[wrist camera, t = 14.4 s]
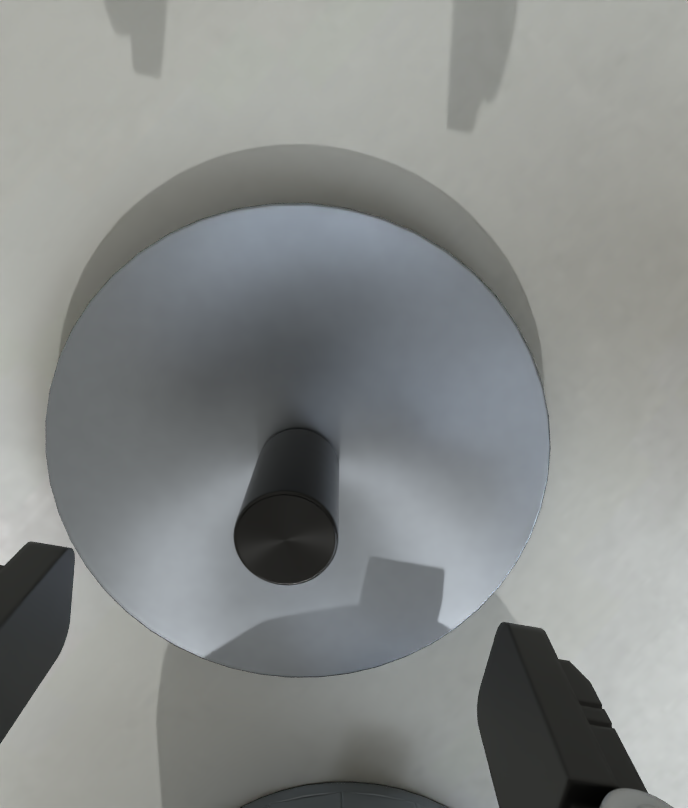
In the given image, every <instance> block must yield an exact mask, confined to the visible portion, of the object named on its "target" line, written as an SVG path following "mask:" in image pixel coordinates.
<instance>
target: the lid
mask: <svg viewBox="0 0 688 808" xmlns="http://www.w3.org/2000/svg"><path fill="white" fill-rule="evenodd" d="M46 458H47V465H48V472H49V479H50V485H51V488H52V492H53V495H54V499H55V502H56V505H57V509H58V512H59V515H60V517H61V520H62V522H63V524H64V526H65V529H66V531H67V533H68V535H69V538H70V540H71V542H72V544H73V545H74V547H75V549H76V550H77V552H78V554H79V555H80V557H81V559H82V560H83V562H84V564H85V565H86V567H87V568H88V569H89V571H90V572H91V573H92V575H93V576H94V577H95V578H96V580H97V581H98V582H99V583H100V585H101V586H102V587H103V589H104V590H105V591H106V592H107V593H108V594H109V595H110V596H111V597H112V598H113V599H114V600H115V601H116V602H117V603H118V604H119V605H120V606H121V607H122V608H123V609H124V610H125V611H126V612H127V613H129V614H130V615H131V616H132V617H134V618H135V619H136V620H137V621H139V622H140V623H141V624H143V625H144V626H145V627H146V628H148V629H149V630H150V631H152V632H154V633H155V634H157V635H158V636H160V637H162V638H163V639H165V640H167V641H168V642H170V643H172V644H173V645H175V646H177V647H179V648H181V649H183V650H185V651H187V652H190V653H192V654H194V655H196V656H198V657H200V658H203V659H205V660H208V661H211V662H214V663H217V664H220V665H223V666H226V667H229V668H233V669H238V670H242V671H247V672H252V673H256V674H262V675H271V676H281V677H325V676H333V675H341V674H349V673H354V672H358V671H362V670H366V669H371V668H375V667H379V666H381V665H384V664H387V663H390V662H393V661H395V660H398V659H401V658H404V657H406V656H408V655H410V654H412V653H414V652H416V651H418V650H420V649H422V648H424V647H426V646H428V645H430V644H432V643H434V642H435V641H437V640H438V639H440V638H441V637H443V636H445V635H446V634H448V633H449V632H451V631H452V630H454V629H455V628H457V627H458V626H459V625H460V624H461V623H463V622H464V621H465V620H466V619H467V618H469V617H470V616H471V615H472V614H473V613H475V612H476V611H477V610H478V609H479V608H480V607H481V606H482V605H483V604H484V603H485V602H486V601H487V600H488V599H489V597H490V596H491V595H492V594H493V593H494V592H495V591H496V590H497V589H498V588H499V587H500V585H501V584H502V582H503V581H504V580H505V578H506V577H507V575H508V574H509V573H510V571H511V570H512V568H513V567H514V566H515V564H516V563H517V561H518V559H519V557H520V555H521V553H522V552H523V550H524V548H525V546H526V544H527V542H528V540H529V539H530V536H531V534H532V531H533V529H534V526H535V523H536V521H537V518H538V515H539V513H540V510H541V506H542V502H543V498H544V493H545V489H546V484H547V480H548V471H549V459H550V430H549V415H548V410H547V405H546V400H545V395H544V390H543V385H542V382H541V379H540V376H539V374H538V371H537V368H536V365H535V362H534V359H533V356H532V354H531V352H530V350H529V348H528V346H527V344H526V342H525V340H524V338H523V336H522V334H521V333H520V331H519V329H518V327H517V325H516V323H515V322H514V321H513V319H512V318H511V316H510V315H509V314H508V312H507V311H506V309H505V308H504V307H503V305H502V304H501V302H500V301H499V299H498V298H497V297H496V296H495V295H494V294H493V293H492V292H491V290H490V289H489V288H488V287H487V286H486V285H485V284H484V283H483V282H482V281H481V280H480V279H479V278H478V277H477V276H476V275H475V274H474V272H472V271H471V270H470V269H469V268H467V267H466V266H465V265H464V264H462V263H461V262H460V261H459V260H457V259H456V258H455V257H454V256H452V255H451V254H450V253H449V252H447V251H446V250H445V249H443V248H441V247H440V246H438V245H436V244H435V243H433V242H431V241H430V240H428V239H426V238H425V237H423V236H421V235H420V234H418V233H416V232H414V231H412V230H410V229H407V228H405V227H403V226H400V225H398V224H396V223H393V222H391V221H389V220H386V219H384V218H382V217H378V216H374V215H371V214H367V213H363V212H359V211H356V210H352V209H348V208H343V207H336V206H328V205H320V204H313V203H272V204H265V205H258V206H251V207H245V208H238V209H234V210H230V211H227V212H223V213H220V214H217V215H213V216H210V217H206V218H203V219H200V220H198V221H196V222H194V223H191V224H189V225H187V226H185V227H182V228H180V229H178V230H176V231H174V232H171V233H169V234H168V235H166V236H164V237H163V238H161V239H160V240H158V241H156V242H155V243H153V244H152V245H150V246H149V247H147V248H145V249H144V250H142V251H141V252H139V253H138V254H137V255H136V256H134V257H133V258H132V259H131V260H130V261H129V262H128V263H126V264H125V265H124V266H123V267H122V268H121V269H119V270H118V271H117V272H116V273H115V274H114V275H112V277H111V278H110V279H109V280H108V281H107V282H106V283H105V285H104V286H103V287H102V288H101V289H100V290H99V292H98V293H97V294H96V295H95V296H94V297H93V298H92V300H91V301H90V302H89V304H88V305H87V307H86V308H85V310H84V312H83V313H82V315H81V316H80V318H79V319H78V321H77V322H76V324H75V326H74V327H73V329H72V331H71V333H70V335H69V337H68V340H67V342H66V344H65V346H64V348H63V351H62V353H61V355H60V357H59V360H58V363H57V367H56V370H55V374H54V377H53V381H52V384H51V388H50V393H49V400H48V407H47V415H46Z"/></svg>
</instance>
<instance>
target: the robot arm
mask: <svg viewBox="0 0 688 808" xmlns="http://www.w3.org/2000/svg"><path fill="white" fill-rule="evenodd" d="M74 563H75V555H74V551H73V549H72V548H67V547H61V546H55V545H49V544H43V543H37V542H28V543H27V544H26V545H24V546H23V547H22V548H21V549H20V550H19V551H18V552H17V553H16V555H15V556H14V557H13V558H12V559H11V560H10V561H9V562H8V563H7V564H6V565H5V566H3V565H0V743H1V742H2V740H3V739H4V737H5V736H6V734H7V733H8V731H9V730H10V728H11V727H12V725H13V724H14V722H15V721H16V719H17V718H18V716H19V715H20V713H21V712H22V710H23V709H24V707H25V706H26V704H27V703H28V701H29V700H30V698H31V697H32V695H33V694H34V692H35V691H36V689H37V688H38V686H39V685H40V683H41V682H42V680H43V679H44V677H45V676H46V674H47V673H48V671H49V670H50V668H51V667H52V665H53V664H54V662H55V661H56V659H57V658H58V656H59V654H60V652H61V650H62V648H63V645H64V643H65V640H66V637H67V633H68V629H69V624H70V613H71V601H72V588H73V575H74ZM477 718H478V726H479V730H480V734H481V738H482V742H483V746H484V749H485V753H486V757H487V761H488V765H489V769H490V773H491V777H492V781H493V785H494V788H495V792H496V796H497V800H498V804H499V808H673V807H672V806H670V805H669V804H667V803H666V802H664V801H663V800H661V799H659V798H657V797H655V796H653V795H651V794H648V792H647V790H646V788H645V786H644V784H643V782H642V780H641V779H640V777H639V775H638V773H637V771H636V769H635V767H634V765H633V763H632V761H631V759H630V757H629V756H628V754H627V752H626V750H625V748H624V746H623V744H622V742H621V740H620V738H619V736H618V734H617V733H616V731H615V729H613V728H612V723H611V721H610V719H609V717H608V715H607V713H606V711H605V710H604V709H602V704H601V702H600V700H599V698H598V696H597V694H596V692H595V690H594V688H593V687H592V685H591V683H590V681H589V680H588V679H587V678H586V677H585V676H584V675H583V674H582V673H581V672H580V671H579V670H578V669H577V668H576V667H575V666H574V665H573V664H572V663H571V662H570V661H566V660H560V659H558V657H557V655H556V653H555V651H554V649H553V647H552V645H551V643H550V640H549V638H548V636H547V634H546V632H545V631H544V630H543V629H541V628H536V627H530V626H524V625H518V624H512V623H506V622H503V623H501V624H500V626H499V627H498V629H497V632H496V635H495V638H494V642H493V645H492V649H491V652H490V656H489V659H488V662H487V666H486V669H485V673H484V676H483V679H482V683H481V686H480V690H479V695H478V704H477Z"/></svg>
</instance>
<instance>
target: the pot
mask: <svg viewBox="0 0 688 808" xmlns="http://www.w3.org/2000/svg"><path fill="white" fill-rule="evenodd" d="M241 808H446V807H445V806H443V805H441V804H438V803H436V802H434V801H432V800H430V799H427V798H425V797H423V796H420V795H417V794H414V793H410V792H407V791H404V790H401V789H396V788H391V787H387V786H382V785H375V784H365V783H355V782H348V783H323V784H314V785H305V786H301V787H297V788H292V789H288V790H283V791H280V792H277V793H274V794H271V795H268V796H266V797H263V798H260V799H258V800H256V801H254V802H252V803H250V804H247V805H245V806H243V807H241Z"/></svg>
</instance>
